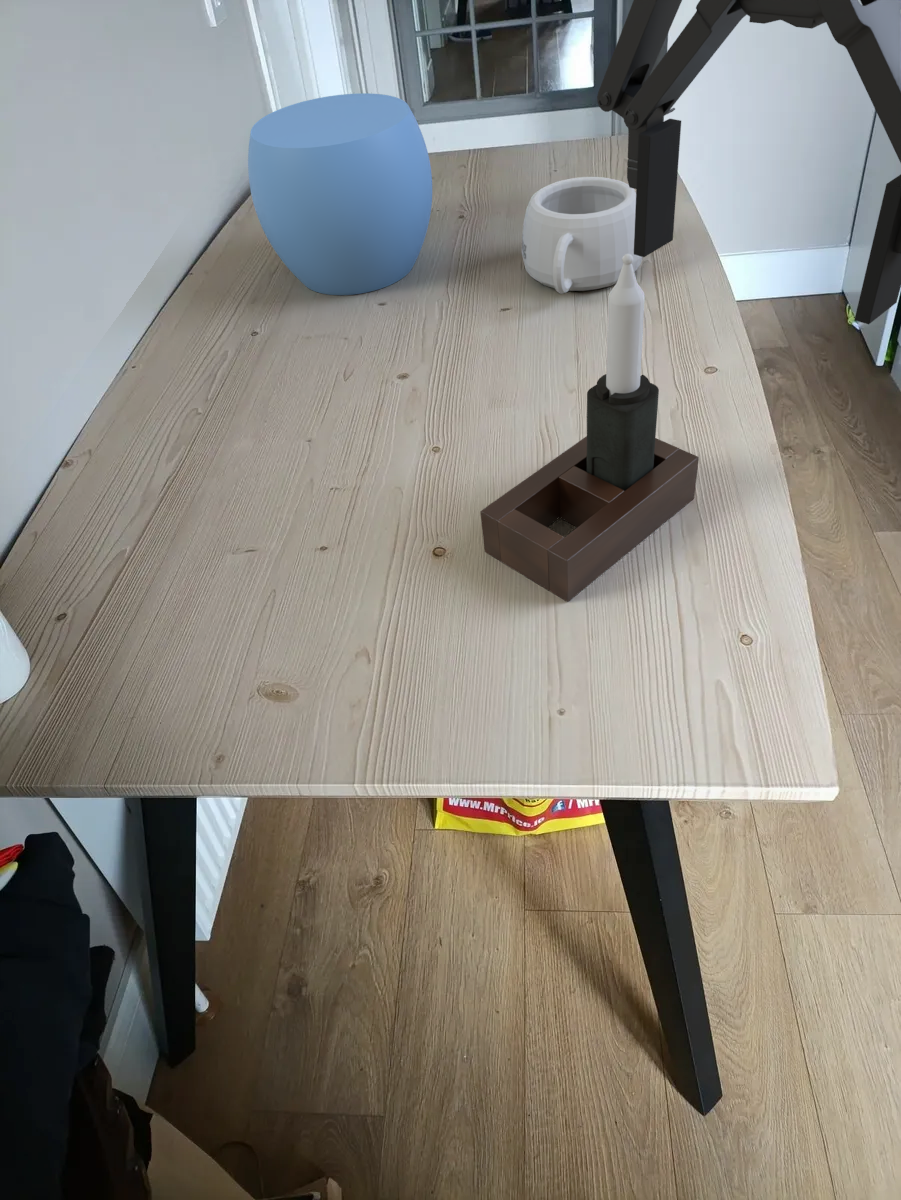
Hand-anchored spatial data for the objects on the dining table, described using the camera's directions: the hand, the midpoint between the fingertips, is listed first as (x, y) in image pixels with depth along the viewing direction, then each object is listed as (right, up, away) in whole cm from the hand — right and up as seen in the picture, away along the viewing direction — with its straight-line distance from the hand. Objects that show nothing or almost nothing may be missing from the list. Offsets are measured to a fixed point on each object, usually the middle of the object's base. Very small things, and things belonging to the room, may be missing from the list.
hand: (755, 277), depth 48 cm
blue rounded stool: (-30, +32, +83) cm, 94 cm away
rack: (-3, -10, +37) cm, 38 cm away
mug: (+1, +27, +73) cm, 78 cm away
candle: (0, -8, +38) cm, 39 cm away
